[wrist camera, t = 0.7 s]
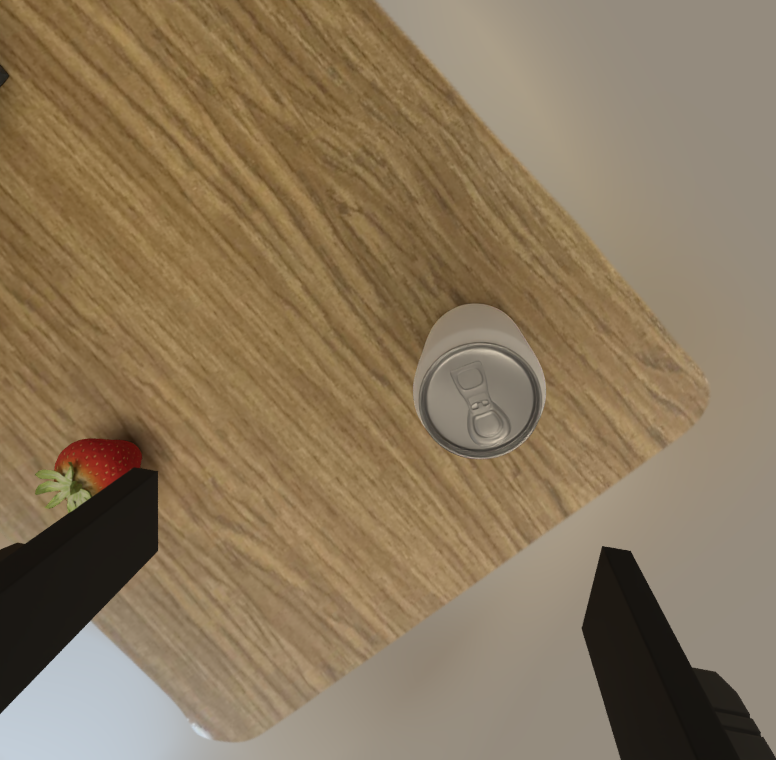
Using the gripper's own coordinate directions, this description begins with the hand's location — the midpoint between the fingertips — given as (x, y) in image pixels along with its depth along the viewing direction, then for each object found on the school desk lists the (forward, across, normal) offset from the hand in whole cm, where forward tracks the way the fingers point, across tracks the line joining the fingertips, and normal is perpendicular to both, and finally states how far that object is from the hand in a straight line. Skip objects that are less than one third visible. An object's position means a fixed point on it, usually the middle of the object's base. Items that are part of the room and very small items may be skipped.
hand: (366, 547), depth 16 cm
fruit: (+22, -21, -10) cm, 32 cm away
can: (+22, +3, +2) cm, 23 cm away
